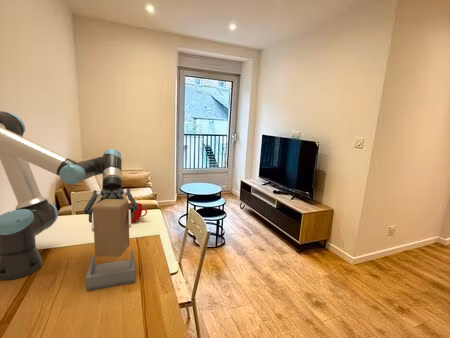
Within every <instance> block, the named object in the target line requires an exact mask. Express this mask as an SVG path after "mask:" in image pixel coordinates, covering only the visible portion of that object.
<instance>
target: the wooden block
mask: <svg viewBox="0 0 450 338" xmlns="http://www.w3.org/2000/svg"><path fill="white" fill-rule="evenodd" d="M96 203H97V202H96ZM96 203H95V204H96ZM129 203H130V202H129V199H125V200H123V199H104V200H102V201H101V202H99V203H97V204H96V205H95V204H93V206H92V207H93V222H94V231H93V239H94V241H93V242H94V256H95V257H106V258H107V257H114V258H117V257H119V258H120V257H121V256H122V255H123V254H124V253H125V252H126V251H127V249H128V248H129V246H130V228H129Z"/></svg>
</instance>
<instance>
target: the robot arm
mask: <svg viewBox="0 0 450 338" xmlns="http://www.w3.org/2000/svg"><path fill="white" fill-rule="evenodd" d="M25 131H26V126H25V123H24V122H23V120H22V118H21V117H19V116H18V115H16V114H14V113H12V112H7V111H3V110H0V163H1V165H2V168H3V170H4V172H5V175H6V177H7V179H8V182H9V184H10V187H11V189H12V192H13V194H14V197H15V199H16V202H17V205H16V206H15V208H14V210H11V211H6V212H5V213H2V214H1V215H0V280H1V281H9V280H16V279H19V278H23V277H26V276H29V275H31V274H33V273H35V272H37V271H38V270H40V269H41V268H40V267H42V266H43V263H44V262H43V258H42V255H41V254H40V252H39V250H38V249H37V245H36V243H37V242H36V236H38V235H39V234H40V233H43V232H44V231H45V230H48V229H49V228H51V226H53V225H54V224H55V222H56V221H57V219H58V216H59V212H58V209H57V207H56V206H55V205H54V204H52V203H51V202H49V200H48V198H47V197H44V196H43V195H42V194H41V191H40V189H39V186H38V184H37V181H36V179H35V176H34V174H33V171H32V168H31V166H30V164H32V165H33V166H37V167H39V168H40V169H43V170H45V171H47V172H50V173H52V174H54V175H56V176H59V178H60V180H61V182H63V183H64V184H67V185H77V184H79V183H82V182H83V181H85V180H88V179H90V178H92V177H95V176H99V175H102V183H101V184H102V189H101V190H100V191H99V190H96V189H94V190H93V193H92V196H91V198H90V199H89V201H88V202H87V204H86V206H85V207H84V209H83V213H84V215H88V222H89V224H90V223H91V232H93V233H94V222H93V206H94V205H96V204H97V203H99V202H101V201H102V200H104V199H123V200H126V199H125V198H124V197H123V195H125V196H127V198H128V201H129V203H132V205H133V206H132V205H131V204H129V229H130V228H132V223H131V219H133V218H134V211H135V210H138V205H137V203H138V202H136V200H135V198H134V197H133V195H132V193H131V190H130V187H129V188H126V189H123V181H122V180H123V175H122V174H123V173H122V172H123V171H122V170H123V169H122V166H123V165H122V164H123V163H122V162H123V159H122V153H121V151H119V150H117V149H115V148H114V149H113V148H108V149H106V150H105V151H104V152H103V154H102V156H99V157H94V158H91V159H90V158H89V159H85V160H81V161H78V162H77V161H76V160H75V161H74V160H73V159H71V158H68V157H66V156H64V155H62V154H60V153H58V152H56V151H53V150H51V149H49V148H47V147H45V146H43V145H41V144H39V143H36V142H34V141H32V140H30V139H28V138H26V137H24V134H25ZM100 195H101V197H100ZM99 197H100V199H99V200H98V201H97V199H98V198H99ZM96 201H97V202H96ZM95 202H96V203H95Z"/></svg>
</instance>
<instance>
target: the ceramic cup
mask: <svg viewBox="0 0 450 338" xmlns="http://www.w3.org/2000/svg"><path fill="white" fill-rule="evenodd" d="M128 203H129V204H131V205H132V203H131V202H128ZM136 203H137V205H138V210H135V211H134V218H133V219H131V224H133V223H136V222H138V221H139V219H141V218H143V217H145V216H146V215H147V213H148V210H147V208H143V204H142V203H140V202H139V203H138V202H136ZM132 206H133V205H132ZM143 211H145V213H144V214H142V213H143Z"/></svg>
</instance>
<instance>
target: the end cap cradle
mask: <svg viewBox="0 0 450 338" xmlns="http://www.w3.org/2000/svg"><path fill="white" fill-rule="evenodd" d="M85 276H86V277H85V282H86V283H85V284H86V287H85V288H86V291H87V292H89V291H94V290H98V288H100V289H105V287H106V288H111V287H115V286H116V287H117V286H122V285H126V284H133V283H136V263H135V251H134V250H130V259H124V260H118V261H110V262H103V263H98V264H96V256H95V255H92V256H91V258H90V261H89V265H88V269H87V274H86V275H85ZM121 284H122V285H121ZM93 289H94V290H93ZM88 290H89V291H88Z"/></svg>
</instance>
